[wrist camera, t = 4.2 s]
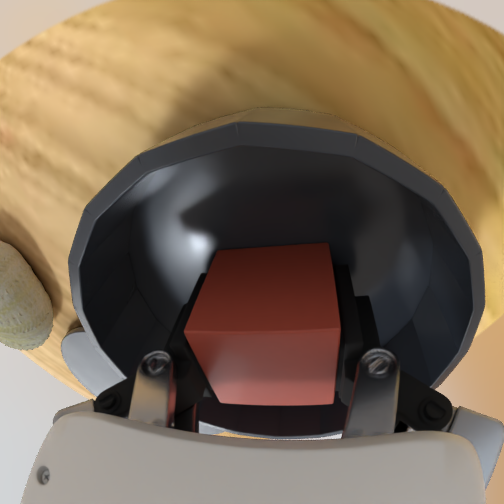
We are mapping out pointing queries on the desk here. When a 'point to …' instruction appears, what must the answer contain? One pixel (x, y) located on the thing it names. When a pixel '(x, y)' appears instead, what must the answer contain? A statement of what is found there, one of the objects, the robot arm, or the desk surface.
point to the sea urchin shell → (22, 303)
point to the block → (268, 326)
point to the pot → (277, 234)
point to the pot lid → (95, 367)
